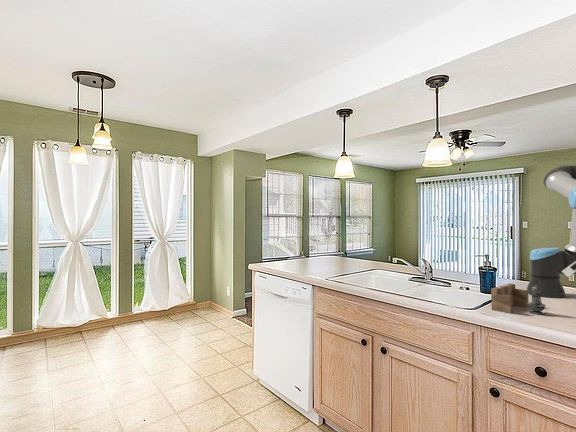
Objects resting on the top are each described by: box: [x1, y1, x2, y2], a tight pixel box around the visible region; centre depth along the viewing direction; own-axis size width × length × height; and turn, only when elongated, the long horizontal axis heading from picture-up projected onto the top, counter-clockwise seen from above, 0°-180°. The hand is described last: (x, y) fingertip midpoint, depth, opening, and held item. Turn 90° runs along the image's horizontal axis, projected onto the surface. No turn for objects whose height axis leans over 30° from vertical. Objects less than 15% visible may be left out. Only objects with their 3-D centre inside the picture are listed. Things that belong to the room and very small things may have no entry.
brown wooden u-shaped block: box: [490, 283, 530, 314], centre depth 139 cm, size 18×7×9 cm, turn 123°
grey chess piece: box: [528, 284, 547, 316], centre depth 131 cm, size 6×6×12 cm
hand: (565, 273), depth 123 cm, fingers closed
